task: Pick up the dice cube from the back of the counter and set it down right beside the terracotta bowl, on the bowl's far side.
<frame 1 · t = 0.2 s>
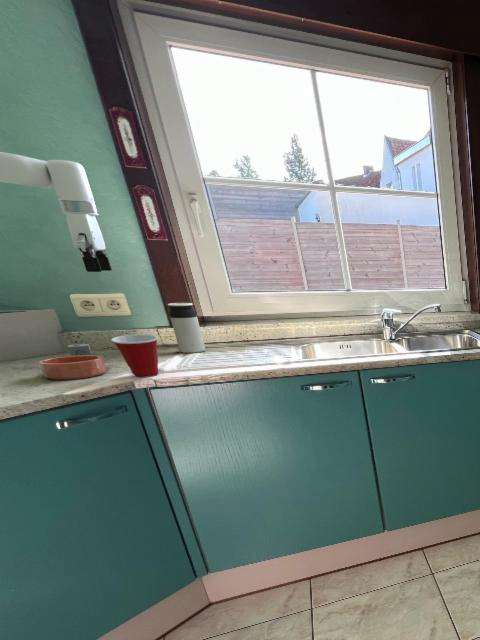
hand: (99, 271, 149), 31 cm above the worktop, tool pointing down, fingers open, 9 cm apart
bowl: (77, 375, 152), on the worktop
travel mug: (193, 351, 192), on the worktop
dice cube: (83, 360, 173), on the worktop
plastic cup: (147, 375, 155), on the worktop
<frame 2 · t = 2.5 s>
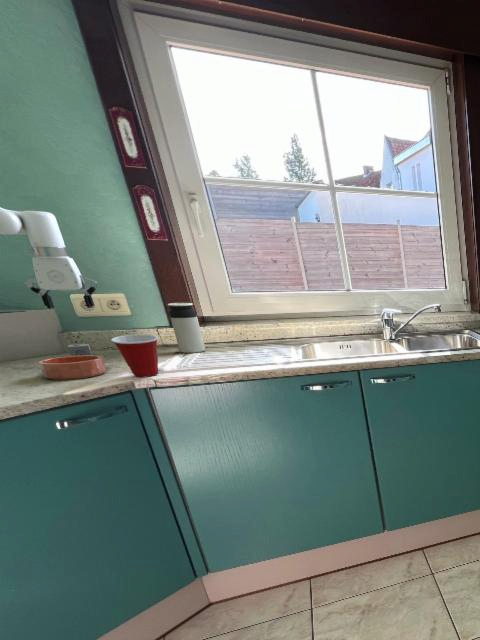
hand: (71, 307, 165), 18 cm above the worktop, tool pointing down, fingers open, 9 cm apart
nothing on the worktop moved.
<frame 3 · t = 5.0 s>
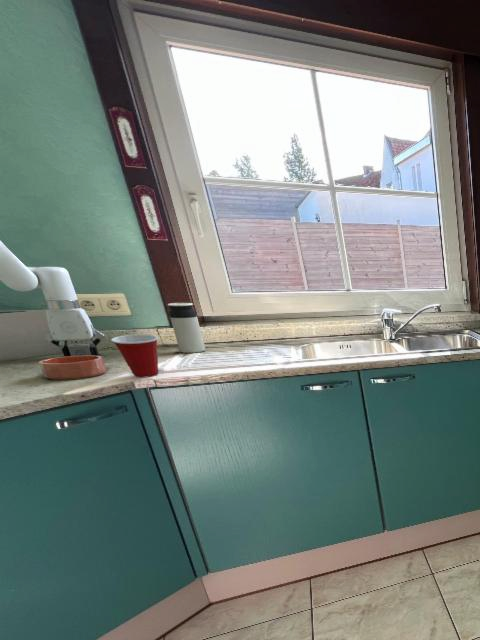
hand: (82, 357, 173), 1 cm above the worktop, tool pointing down, fingers closed on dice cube, 5 cm apart
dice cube: (83, 360, 173), on the worktop, touching gripper
everything else where it was.
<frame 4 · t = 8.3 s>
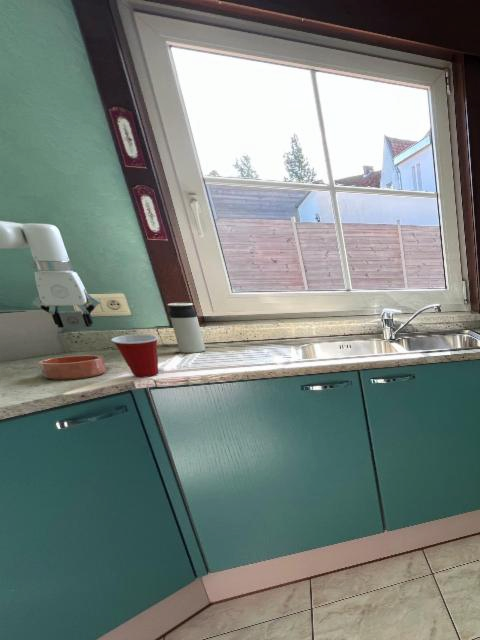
hand: (75, 326, 158), 13 cm above the worktop, tool pointing down, fingers closed on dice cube, 5 cm apart
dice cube: (76, 328, 158), point 13 cm above the worktop, touching gripper
everything else where it was.
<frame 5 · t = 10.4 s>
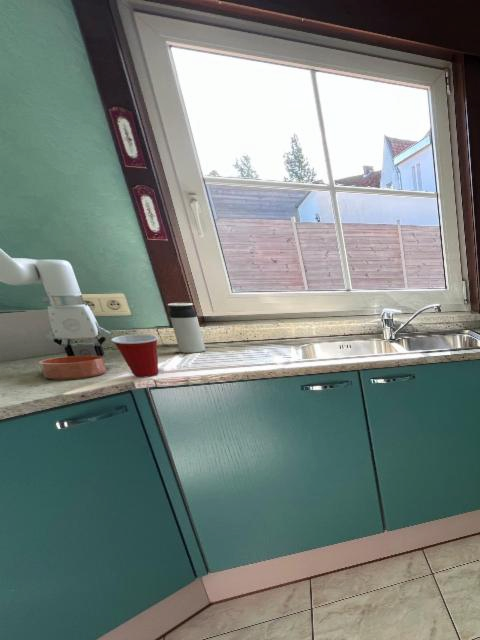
hand: (87, 357, 161), 3 cm above the worktop, tool pointing down, fingers closed on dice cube, 5 cm apart
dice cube: (88, 360, 161), point 3 cm above the worktop, touching gripper
everything else where it was.
when the fingers open (1 cm above the worktop, at t = 11.7 s): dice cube stays where it is, on the worktop.
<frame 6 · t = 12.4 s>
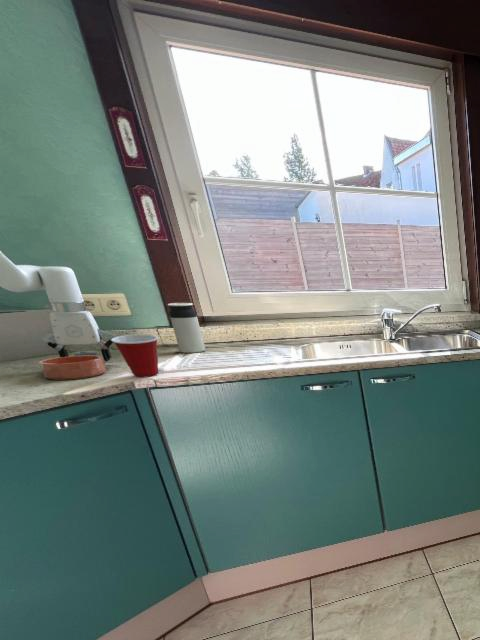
hand: (87, 361, 162), 2 cm above the worktop, tool pointing down, fingers open, 9 cm apart
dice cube: (90, 368, 162), on the worktop
everything else where it was.
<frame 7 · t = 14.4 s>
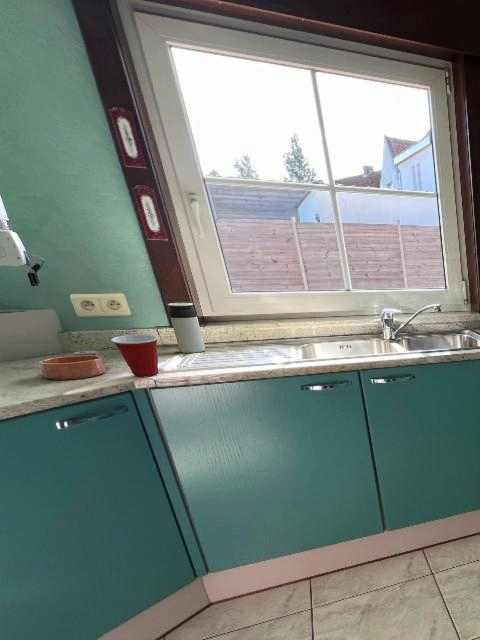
hand: (13, 285, 154), 25 cm above the worktop, tool pointing down, fingers open, 9 cm apart
nothing on the worktop moved.
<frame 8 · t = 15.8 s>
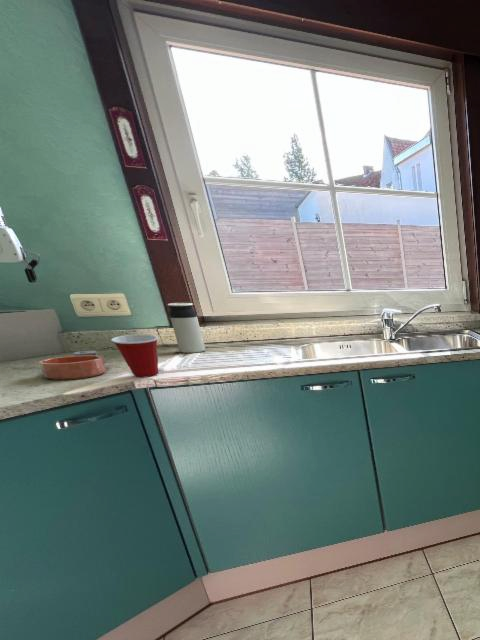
hand: (11, 282, 154), 26 cm above the worktop, tool pointing down, fingers open, 9 cm apart
nothing on the worktop moved.
at the end: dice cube inside the target area on the worktop beside the bowl (1.0 cm from its centre), on the worktop; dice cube tilted 0°; the gripper is holding nothing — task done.
